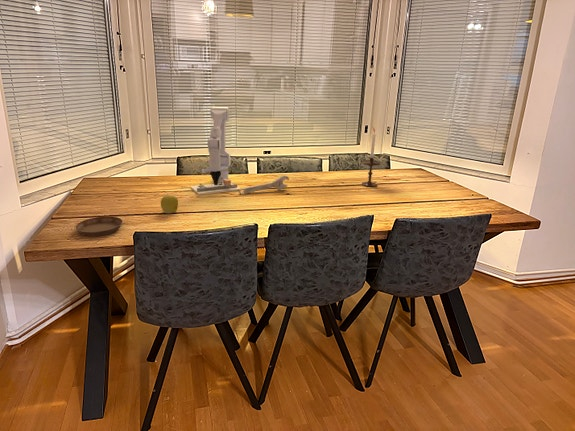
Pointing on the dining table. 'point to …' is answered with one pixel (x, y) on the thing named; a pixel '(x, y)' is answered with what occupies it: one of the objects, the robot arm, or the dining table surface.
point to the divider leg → (225, 181)
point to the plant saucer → (99, 226)
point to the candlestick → (371, 163)
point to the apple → (169, 204)
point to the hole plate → (213, 190)
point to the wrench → (267, 185)
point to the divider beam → (203, 188)
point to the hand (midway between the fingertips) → (215, 184)
